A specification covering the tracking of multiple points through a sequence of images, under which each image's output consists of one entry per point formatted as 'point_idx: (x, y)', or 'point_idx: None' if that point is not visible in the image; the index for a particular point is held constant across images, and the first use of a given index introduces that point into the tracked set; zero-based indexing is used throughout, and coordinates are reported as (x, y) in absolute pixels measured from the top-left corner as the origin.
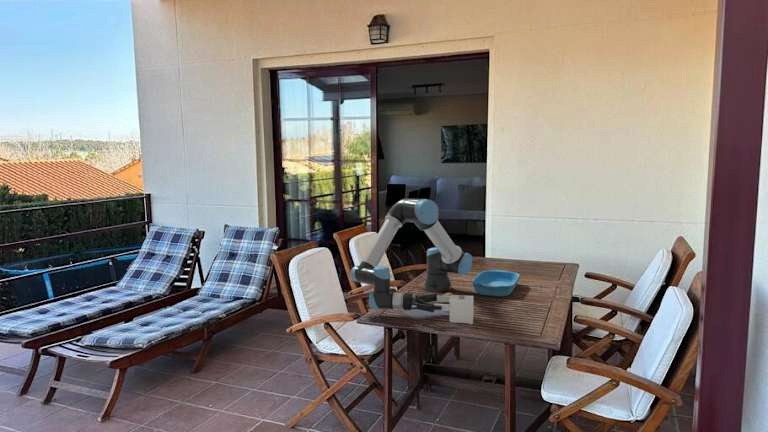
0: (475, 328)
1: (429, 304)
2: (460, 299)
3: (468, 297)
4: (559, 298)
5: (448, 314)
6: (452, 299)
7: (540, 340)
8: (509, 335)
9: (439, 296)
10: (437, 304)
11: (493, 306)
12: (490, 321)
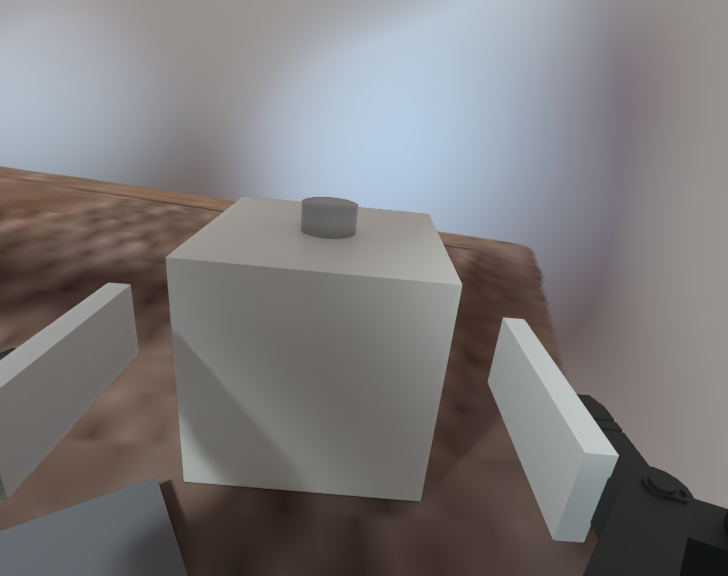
0: (481, 366)
1: (677, 548)
2: (373, 237)
3: (295, 211)
4: (61, 180)
5: (146, 495)
6: (386, 266)
7: (521, 255)
8: (517, 292)
9: (22, 378)
10: (588, 414)
11: (42, 274)
12: None
